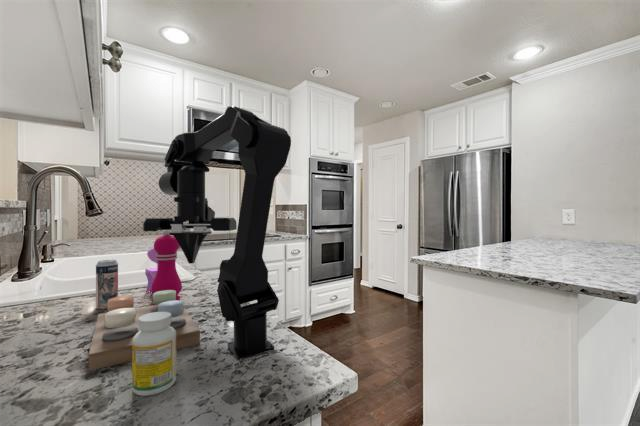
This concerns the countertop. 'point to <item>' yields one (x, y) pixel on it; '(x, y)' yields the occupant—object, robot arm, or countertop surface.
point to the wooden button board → (118, 341)
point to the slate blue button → (172, 307)
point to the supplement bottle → (154, 354)
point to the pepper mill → (166, 265)
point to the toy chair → (151, 271)
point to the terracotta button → (120, 302)
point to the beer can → (106, 282)
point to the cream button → (120, 317)
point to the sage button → (164, 296)
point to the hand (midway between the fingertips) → (191, 263)
